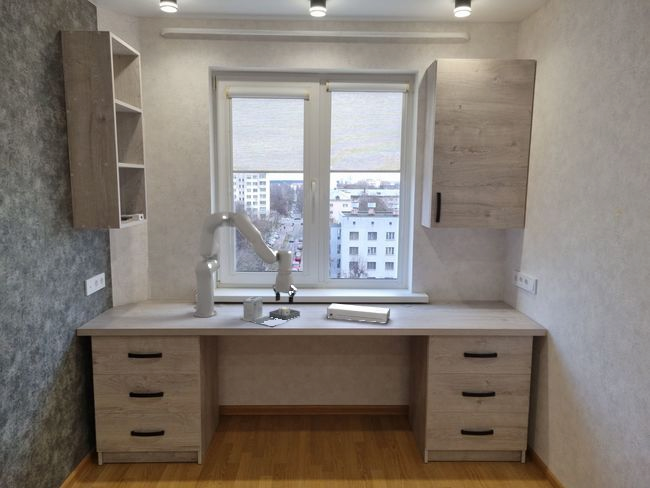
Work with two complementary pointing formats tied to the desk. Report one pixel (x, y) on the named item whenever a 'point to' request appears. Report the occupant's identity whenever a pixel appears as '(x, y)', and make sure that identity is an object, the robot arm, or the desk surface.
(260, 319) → the track mat
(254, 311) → the light bulb box
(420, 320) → the desk surface
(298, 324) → the desk surface
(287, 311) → the die
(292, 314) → the dice tray
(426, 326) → the desk surface
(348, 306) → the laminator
